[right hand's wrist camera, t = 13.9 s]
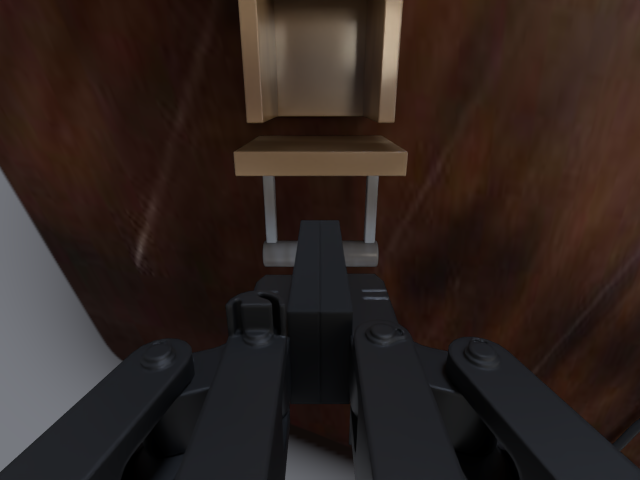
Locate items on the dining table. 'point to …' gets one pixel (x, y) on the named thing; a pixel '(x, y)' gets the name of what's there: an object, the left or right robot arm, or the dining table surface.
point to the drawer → (320, 100)
